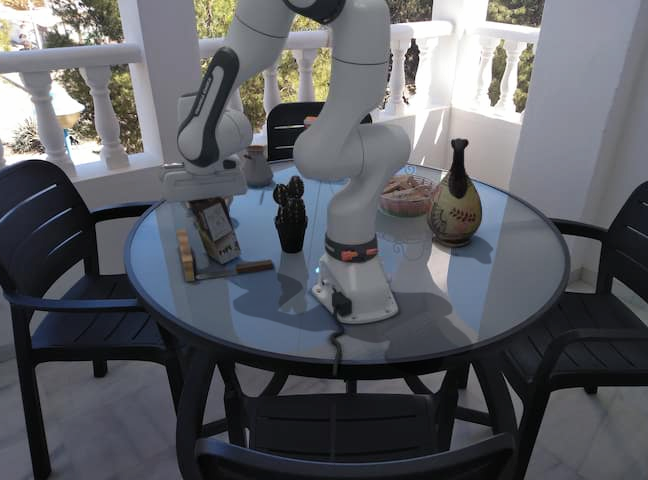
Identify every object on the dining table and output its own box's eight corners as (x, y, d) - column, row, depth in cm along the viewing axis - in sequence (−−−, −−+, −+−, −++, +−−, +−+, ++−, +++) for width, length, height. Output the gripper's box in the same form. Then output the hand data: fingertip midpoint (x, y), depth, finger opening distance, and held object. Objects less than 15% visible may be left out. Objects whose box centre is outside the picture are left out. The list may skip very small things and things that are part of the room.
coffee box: (242, 253, 140) (225, 199, 131) (221, 265, 137) (202, 210, 128) (226, 242, 146) (208, 189, 137) (205, 253, 143) (185, 199, 134)
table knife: (273, 268, 137) (272, 263, 136) (196, 280, 131) (195, 274, 130) (271, 264, 138) (270, 259, 138) (195, 276, 133) (194, 270, 132)
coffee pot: (245, 177, 196) (242, 136, 188) (276, 178, 195) (274, 137, 187) (230, 199, 177) (225, 154, 170) (264, 200, 176) (261, 156, 169)
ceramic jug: (425, 226, 161) (435, 126, 146) (477, 231, 158) (493, 130, 144) (420, 251, 147) (431, 143, 132) (478, 257, 144) (496, 148, 129)
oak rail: (195, 280, 131) (192, 260, 128) (185, 281, 130) (182, 261, 128) (188, 247, 146) (185, 228, 143) (179, 248, 145) (176, 229, 143)
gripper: (157, 169, 123) (166, 224, 130) (246, 161, 129) (250, 214, 136) (156, 160, 128) (165, 213, 135) (242, 153, 134) (246, 204, 141)
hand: (208, 213), depth 135 cm, fingers closed on coffee box, 8 cm apart
